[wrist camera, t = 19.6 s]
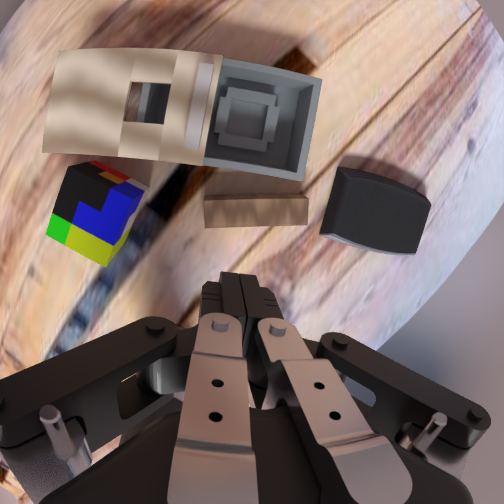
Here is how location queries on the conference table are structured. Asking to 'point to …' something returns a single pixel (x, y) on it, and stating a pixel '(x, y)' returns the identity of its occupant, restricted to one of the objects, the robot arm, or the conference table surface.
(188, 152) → the lid
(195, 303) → the conference table surface
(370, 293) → the conference table surface
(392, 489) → the robot arm
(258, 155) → the toolbox
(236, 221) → the brown block
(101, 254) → the puzzle toy
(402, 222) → the external hard drive
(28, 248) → the conference table surface
